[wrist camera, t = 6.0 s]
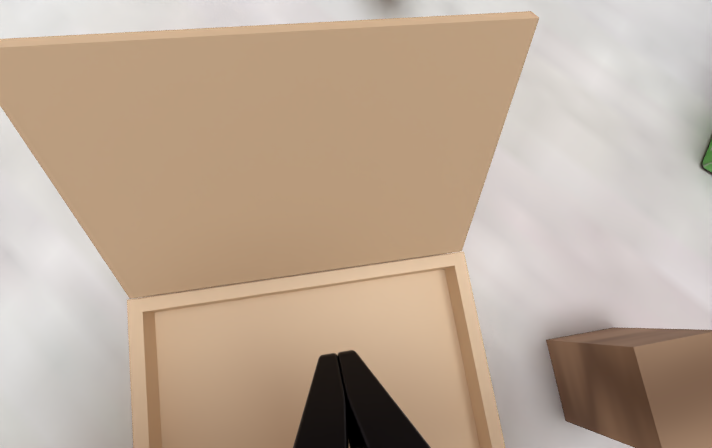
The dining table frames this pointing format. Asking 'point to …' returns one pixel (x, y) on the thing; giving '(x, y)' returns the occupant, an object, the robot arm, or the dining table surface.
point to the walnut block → (638, 385)
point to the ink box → (708, 159)
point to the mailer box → (310, 355)
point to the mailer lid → (267, 140)
